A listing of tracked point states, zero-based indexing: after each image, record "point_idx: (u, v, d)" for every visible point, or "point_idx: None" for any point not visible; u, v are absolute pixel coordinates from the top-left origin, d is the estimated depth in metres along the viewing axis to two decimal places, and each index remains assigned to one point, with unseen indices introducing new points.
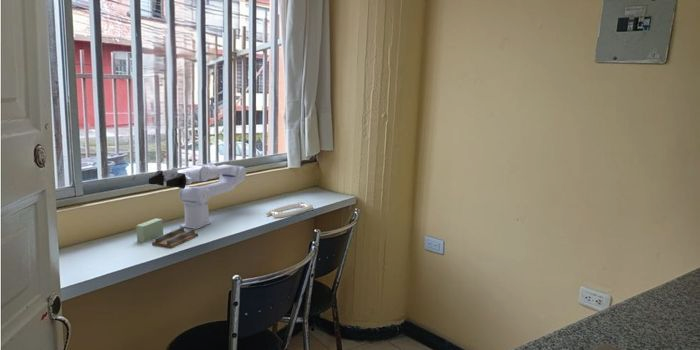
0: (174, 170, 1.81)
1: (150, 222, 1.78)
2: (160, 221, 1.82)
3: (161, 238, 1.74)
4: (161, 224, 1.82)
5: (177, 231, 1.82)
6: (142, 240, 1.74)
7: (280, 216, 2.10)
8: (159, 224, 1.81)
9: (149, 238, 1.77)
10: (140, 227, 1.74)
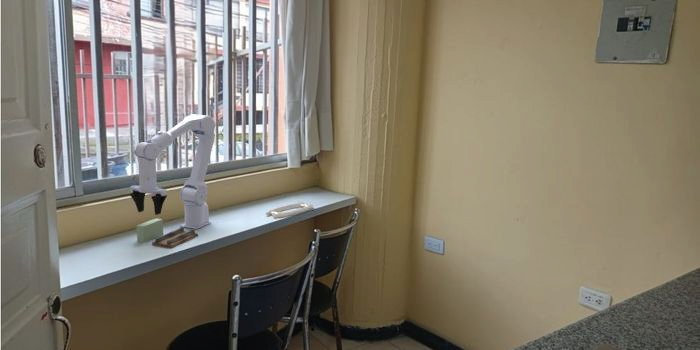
0: (142, 191, 1.73)
1: (150, 222, 1.78)
2: (160, 221, 1.81)
3: (161, 238, 1.74)
4: (161, 224, 1.82)
5: (177, 231, 1.82)
6: (142, 240, 1.74)
7: (280, 216, 2.10)
8: (159, 224, 1.81)
9: (149, 238, 1.77)
10: (140, 227, 1.74)
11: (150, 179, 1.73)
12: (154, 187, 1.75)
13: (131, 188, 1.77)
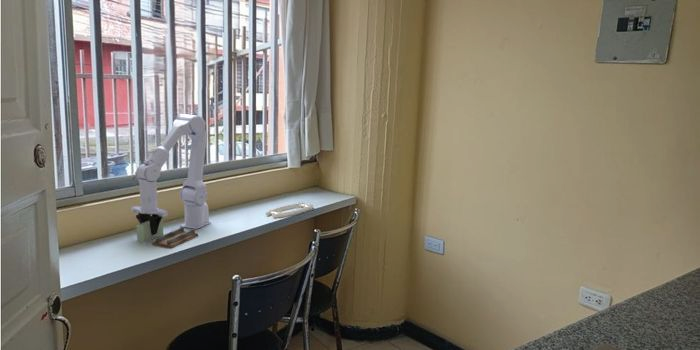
0: None
1: None
2: (160, 221, 1.81)
3: (161, 238, 1.74)
4: (161, 224, 1.82)
5: (177, 231, 1.82)
6: (142, 240, 1.74)
7: (280, 216, 2.10)
8: (159, 224, 1.81)
9: (149, 238, 1.77)
10: (140, 227, 1.74)
11: (151, 200, 1.75)
12: (155, 208, 1.76)
13: (132, 209, 1.79)
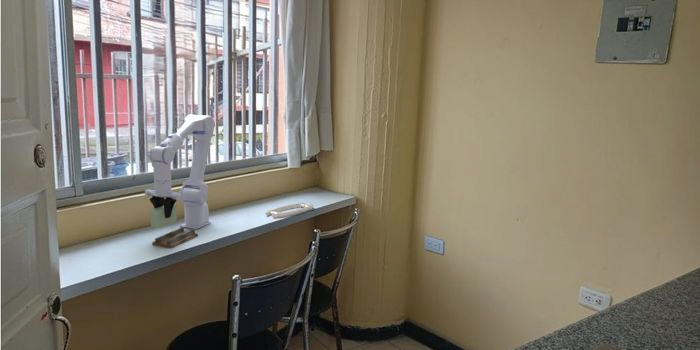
0: (157, 195, 1.72)
1: None
2: (174, 206, 1.79)
3: (161, 238, 1.74)
4: (175, 209, 1.80)
5: (177, 231, 1.82)
6: (156, 225, 1.72)
7: (279, 216, 2.10)
8: (173, 209, 1.79)
9: (163, 223, 1.75)
10: (154, 212, 1.72)
11: (165, 183, 1.72)
12: (169, 191, 1.74)
13: (146, 192, 1.76)
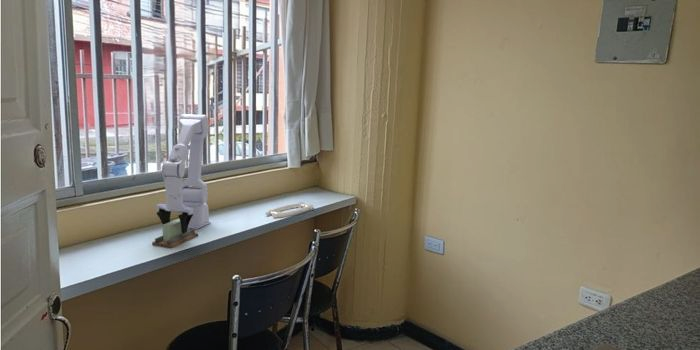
0: (169, 210, 1.72)
1: (176, 221, 1.76)
2: None
3: (161, 238, 1.74)
4: None
5: None
6: (168, 239, 1.73)
7: (279, 216, 2.10)
8: None
9: None
10: (166, 226, 1.72)
11: (177, 198, 1.72)
12: (181, 206, 1.74)
13: (157, 206, 1.77)
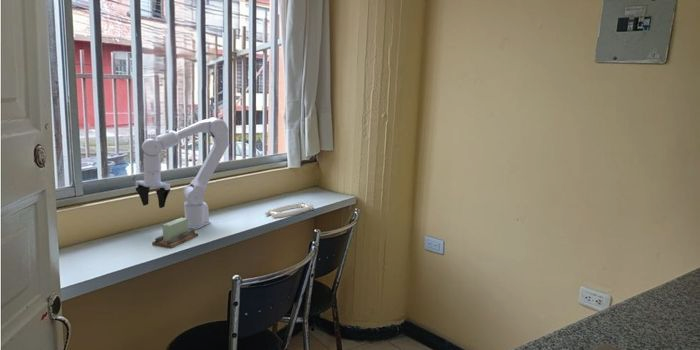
0: (147, 185, 1.82)
1: (176, 221, 1.76)
2: (185, 220, 1.80)
3: (161, 238, 1.74)
4: (187, 223, 1.80)
5: None
6: (168, 239, 1.73)
7: (279, 216, 2.10)
8: (184, 223, 1.79)
9: None
10: (166, 226, 1.72)
11: (154, 174, 1.82)
12: (158, 181, 1.84)
13: (136, 182, 1.86)
